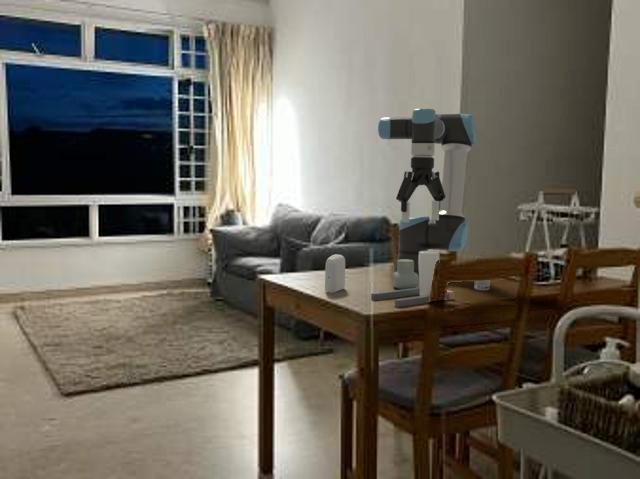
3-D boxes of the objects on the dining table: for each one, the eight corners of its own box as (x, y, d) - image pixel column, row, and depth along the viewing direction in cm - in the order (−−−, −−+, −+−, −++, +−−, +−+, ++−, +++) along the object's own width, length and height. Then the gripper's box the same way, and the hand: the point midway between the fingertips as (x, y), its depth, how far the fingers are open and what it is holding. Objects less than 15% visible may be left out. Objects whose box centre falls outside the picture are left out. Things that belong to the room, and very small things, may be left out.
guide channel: (425, 292, 223) (425, 285, 223) (453, 299, 212) (453, 291, 212) (371, 299, 209) (371, 291, 209) (398, 307, 199) (398, 299, 198)
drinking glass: (415, 294, 218) (416, 250, 217) (434, 294, 219) (436, 250, 217) (419, 298, 212) (421, 253, 210) (440, 298, 212) (441, 253, 211)
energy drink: (490, 288, 232) (491, 255, 231) (488, 291, 227) (490, 257, 226) (474, 287, 234) (476, 254, 233) (473, 289, 229) (474, 256, 228)
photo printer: (335, 293, 218) (335, 257, 217) (323, 292, 220) (324, 256, 219) (346, 288, 228) (347, 253, 226) (335, 287, 229) (335, 252, 228)
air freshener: (390, 285, 235) (391, 258, 234) (412, 285, 236) (413, 258, 235) (396, 291, 224) (397, 262, 223) (420, 291, 225) (421, 262, 224)
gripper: (402, 156, 203) (400, 224, 206) (457, 157, 218) (455, 220, 220) (386, 156, 209) (384, 221, 212) (441, 156, 224) (438, 218, 226)
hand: (420, 221), depth 216 cm, fingers open, 13 cm apart
